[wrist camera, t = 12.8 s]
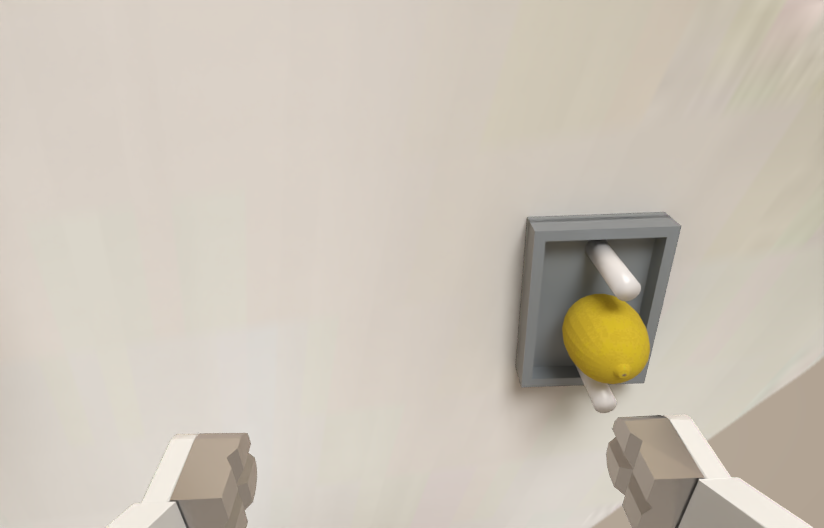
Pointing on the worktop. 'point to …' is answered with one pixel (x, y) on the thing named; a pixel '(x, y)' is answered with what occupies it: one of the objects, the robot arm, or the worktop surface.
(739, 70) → the worktop surface
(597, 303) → the lemon
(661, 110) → the worktop surface
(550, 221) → the tray
